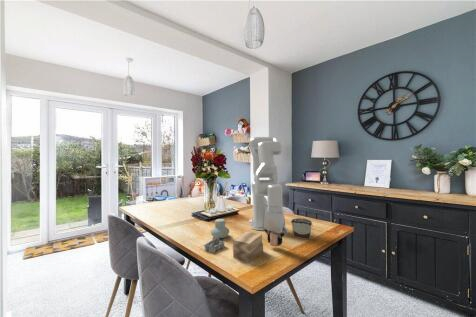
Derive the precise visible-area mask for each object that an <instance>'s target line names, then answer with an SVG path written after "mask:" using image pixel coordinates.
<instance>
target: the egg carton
mask: <svg viewBox="0 0 476 317" xmlns="http://www.w3.org/2000/svg"><path fill="white" fill-rule="evenodd" d="M225 243H226V241H225V240H221V238H217V237H213V238H212V240H210V241H209V242H207V243H205V244H203V246H204V251H205V252H207V251H209V253H215V252H216V251H220V250H221V249H222V248H225Z"/></svg>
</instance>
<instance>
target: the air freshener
mask: <svg viewBox="0 0 476 317" xmlns="http://www.w3.org/2000/svg"><path fill="white" fill-rule="evenodd" d="M229 234H230V228H229V227H227V226H226V220H225V219H224V218H218V219H215V220H214V227H213V228H211V230H210V235H211V236H212V237H213V238H215V237H217V238H219V239H225V238H227V237H228V235H229Z"/></svg>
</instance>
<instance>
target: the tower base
mask: <svg viewBox="0 0 476 317" xmlns="http://www.w3.org/2000/svg"><path fill="white" fill-rule="evenodd" d="M232 250H233V251H232V252H233V253H232V254H233V258H235V259H238V260H241V261H244V262H248V263H250V262H252V261H253V260H254V259H255V258H257V257H258V256H260V255H261V254H263V253H264V243H263V242H262V244H261V245H260V246H258V247H257V248H256V249H255V250H253V251H252V252H251V253H246V252H242V251H238V250H234V249H233V248H232Z"/></svg>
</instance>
